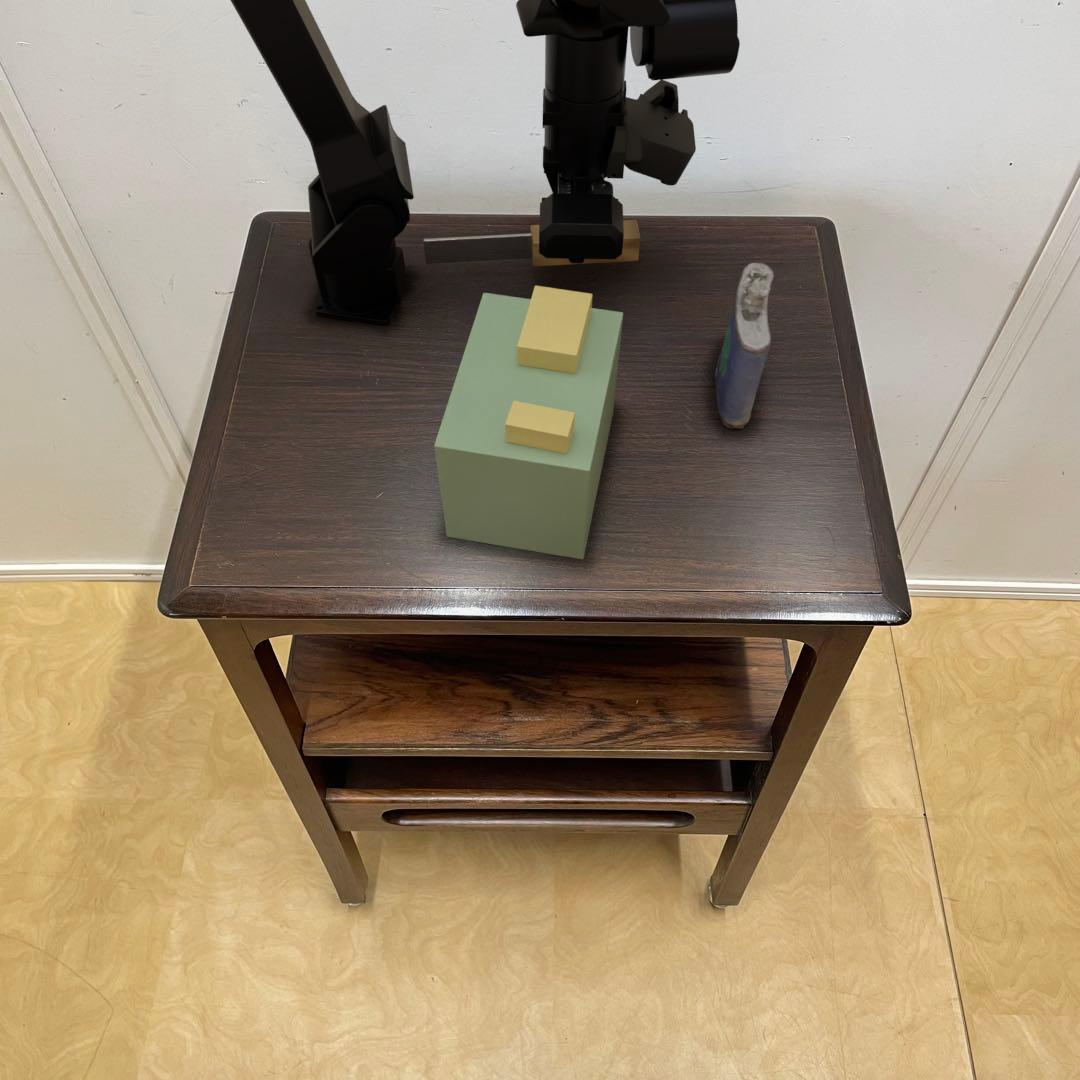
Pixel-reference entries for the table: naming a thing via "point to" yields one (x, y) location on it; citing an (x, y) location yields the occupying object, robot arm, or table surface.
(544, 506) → the stand
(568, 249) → the robot arm
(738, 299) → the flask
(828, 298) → the table surface
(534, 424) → the butter pat
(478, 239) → the knife
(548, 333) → the butter stick
